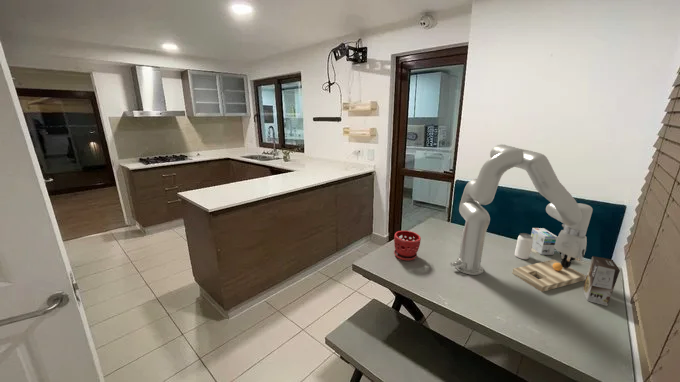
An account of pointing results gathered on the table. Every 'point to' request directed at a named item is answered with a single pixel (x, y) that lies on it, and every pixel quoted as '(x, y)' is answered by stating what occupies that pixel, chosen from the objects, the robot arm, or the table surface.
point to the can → (524, 246)
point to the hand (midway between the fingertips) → (564, 266)
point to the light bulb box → (543, 241)
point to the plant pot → (406, 245)
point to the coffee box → (600, 280)
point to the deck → (548, 275)
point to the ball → (557, 266)
